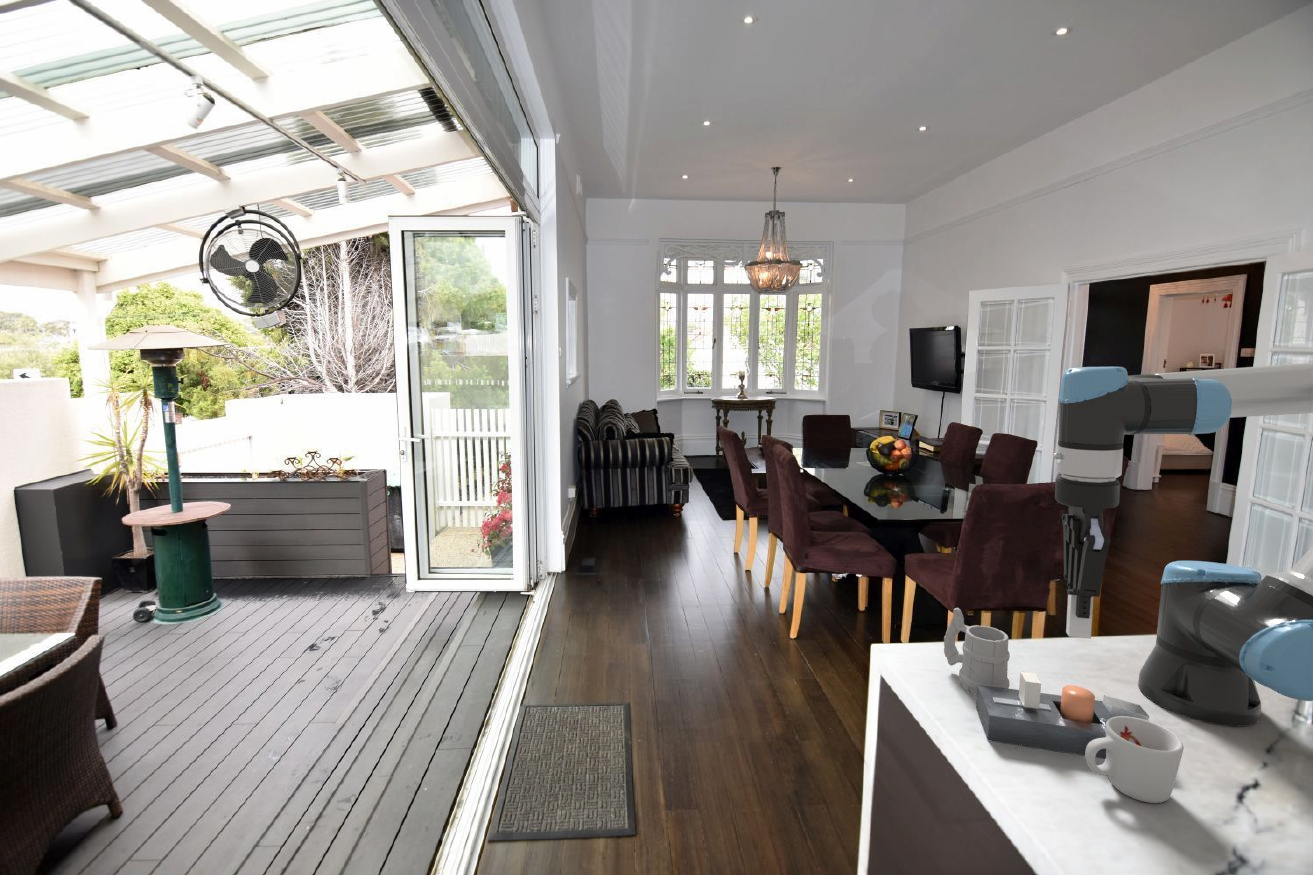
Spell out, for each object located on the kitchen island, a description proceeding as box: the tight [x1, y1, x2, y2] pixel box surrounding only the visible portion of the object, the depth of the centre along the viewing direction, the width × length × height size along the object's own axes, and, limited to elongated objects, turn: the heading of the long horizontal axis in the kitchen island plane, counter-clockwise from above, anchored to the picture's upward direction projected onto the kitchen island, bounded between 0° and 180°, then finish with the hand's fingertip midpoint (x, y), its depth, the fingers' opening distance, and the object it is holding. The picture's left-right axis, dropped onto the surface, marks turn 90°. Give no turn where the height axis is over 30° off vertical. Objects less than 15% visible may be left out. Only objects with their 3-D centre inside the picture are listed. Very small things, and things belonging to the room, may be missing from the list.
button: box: [1060, 684, 1096, 723], centre depth 92 cm, size 4×4×5 cm
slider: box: [1018, 671, 1042, 709], centre depth 93 cm, size 2×3×4 cm, turn 163°
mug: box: [943, 607, 1010, 697], centre depth 107 cm, size 8×12×12 cm, turn 26°
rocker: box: [1101, 695, 1150, 721], centre depth 90 cm, size 5×3×1 cm, turn 73°
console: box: [975, 684, 1119, 760], centre depth 93 cm, size 21×9×5 cm, turn 73°
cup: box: [1084, 716, 1184, 804], centre depth 81 cm, size 11×8×8 cm
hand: (1078, 635), depth 90 cm, fingers closed
